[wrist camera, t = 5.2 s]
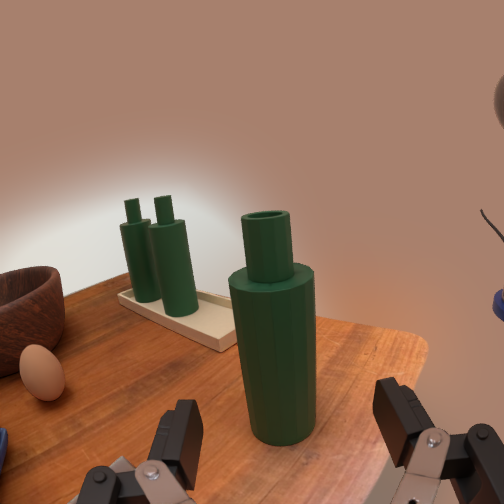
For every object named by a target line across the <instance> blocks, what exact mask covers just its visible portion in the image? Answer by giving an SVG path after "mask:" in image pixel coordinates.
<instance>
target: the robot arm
mask: <svg viewBox="0 0 504 504" xmlns="http://www.w3.org/2000/svg"><path fill="white" fill-rule="evenodd" d="M494 110H495V114H496V116H497V119H498V121H499V123H500V124H501V126H502V127H503V129H504V75H503V76H502V77H501V78H500V79H499V81H498V83H497V85H496V88H495V92H494ZM480 211H481V214H482V216H483V217H484V219H485V220H486V221H487V222H488V224H489V225H490V226H491V227H492V228H493V229H494V230H495V231H496V233H497V234H498V235H499V236H500V237H501V239H502V240H503V242H504V237H503V235H502V234H501V233H500V232H499V231H498V230H497V228H496V227H495V226H494V225H493V224H492V223H491V222H490V221H489V220H488V219H487V218H486V216H485V215H484V213H483V211H482V209H481V210H480ZM501 299H502V302H503V303H504V288H503V291H502V296H501ZM373 414H374V417H375V419H376V422H377V424H378V426H379V429H380V431H381V434H382V436H383V438H384V441H385V443H386V446H387V448H388V450H389V453H390V455H391V458H392V460H393V463H394V465H395V467H396V468H397V467H400V466H404V468H405V470H406V471H405V473H404V475H403V477H402V480H401V482H400V484H399V486H398V489H397V491H396V493H395V495H394V497H393V499H392V501H391V503H390V504H433V502H434V499H435V497H436V494H437V491H438V488H439V485H440V481H441V480H445V479H450V481H451V484H452V486H453V488H454V491H455V493H456V496H457V498H458V501H459V504H504V444H503V443H502V441H501V440H500V438H499V436H498V435H497V433H496V432H495V430H494V429H493V428H492V427H491V426H489V425H487V424H476V425H474V426H472V427H471V428H470V429H469V431H468V433H466V434H458V435H457V434H456V435H449V434H448V433H447V432H446V431H444V430H443V429H440V428H436V427H435V426H434V424H433V423H432V421H431V419H430V417H429V416H428V414H427V412H426V411H425V409H424V408H423V406H422V405H421V403H420V401H419V400H418V398H417V396H416V395H415V393H414V391H413V390H411V389H410V388H408V387H407V386H406V385H402V386H399V385H398V383H397V381H396V380H395V378H394V377H389V378H385V379H380V380H377V381H376V386H375V393H374V399H373ZM202 439H203V423H202V419H201V416H200V413H199V409H198V406H197V402H196V400H178V401H177V404H176V408H175V410H168V411H167V412H166V413H165V414H164V415H163V416H162V417H161V419H160V422H159V425H158V428H157V431H156V435H155V437H154V440H153V443H152V447H151V450H150V453H149V456H148V459H147V461H145V462H143V463H141V464H140V465H139V466H138V467H137V468H136V470H133V471H127V472H119V473H115V472H114V471H113V470H112V469H111V468H110V467H107V466H97V467H94V468H92V469H91V470H90V471H89V472H88V473H87V475H86V477H85V480H84V482H83V485H82V488H81V490H80V493H79V496H78V499H77V502H76V504H196V502H195V501H194V500H193V499H192V498H190V497H189V496H188V494H187V493H186V490H194V487H195V481H196V475H197V469H198V463H199V457H200V451H201V445H202Z"/></svg>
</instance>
